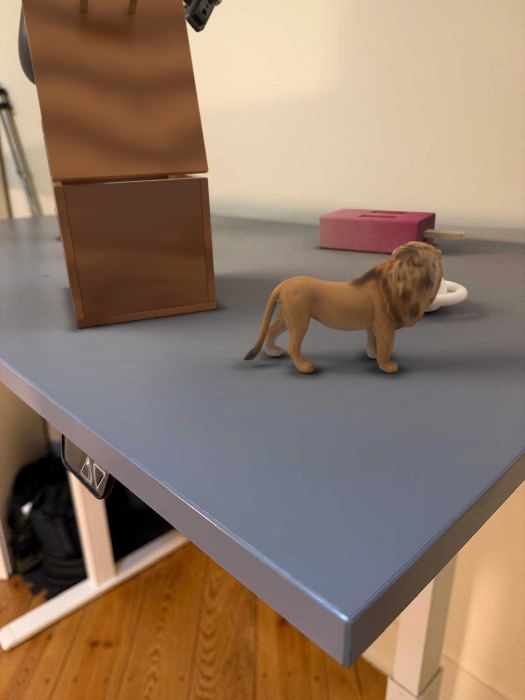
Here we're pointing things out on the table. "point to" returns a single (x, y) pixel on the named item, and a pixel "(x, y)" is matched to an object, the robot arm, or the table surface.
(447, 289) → the white curved piece
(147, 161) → the lid
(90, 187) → the chest
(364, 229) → the popsicle
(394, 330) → the lion figurine
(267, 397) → the table surface
